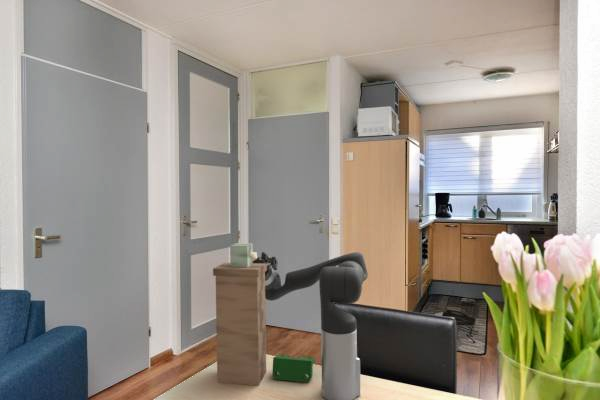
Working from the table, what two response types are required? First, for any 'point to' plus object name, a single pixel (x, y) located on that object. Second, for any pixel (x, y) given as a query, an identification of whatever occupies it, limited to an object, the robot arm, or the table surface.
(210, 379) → the table surface
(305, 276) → the robot arm
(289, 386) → the table surface
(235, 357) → the tool tower
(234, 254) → the mint and tan block
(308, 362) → the green box
